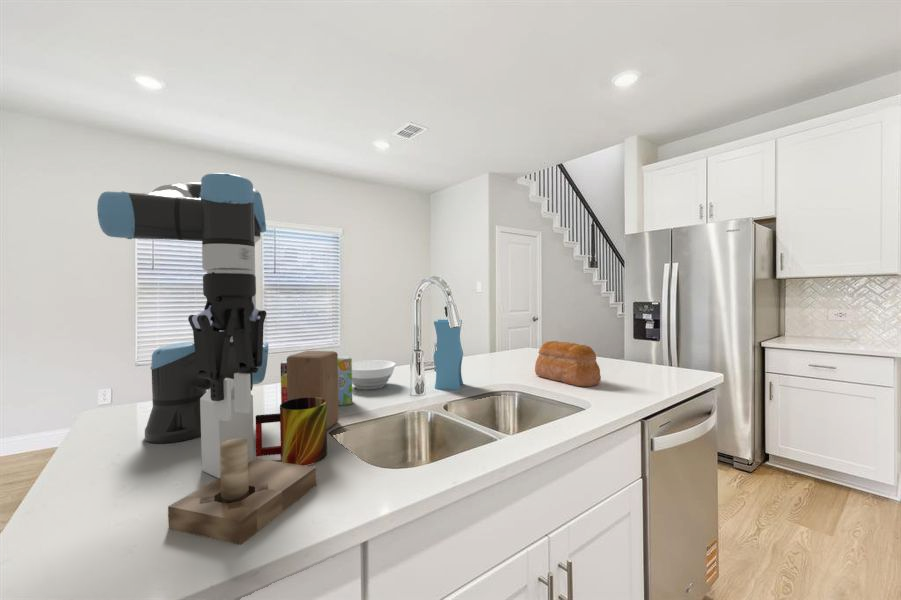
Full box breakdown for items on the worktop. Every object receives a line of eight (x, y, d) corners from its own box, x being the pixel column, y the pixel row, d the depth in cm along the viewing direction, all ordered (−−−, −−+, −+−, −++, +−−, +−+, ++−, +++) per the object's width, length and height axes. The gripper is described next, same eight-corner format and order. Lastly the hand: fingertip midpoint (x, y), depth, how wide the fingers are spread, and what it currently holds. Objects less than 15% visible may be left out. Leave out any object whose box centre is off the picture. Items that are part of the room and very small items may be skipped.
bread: (583, 389, 145) (583, 348, 144) (531, 376, 166) (531, 340, 166) (605, 384, 152) (605, 344, 152) (552, 372, 174) (552, 337, 174)
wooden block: (321, 435, 101) (320, 357, 100) (286, 432, 103) (284, 355, 102) (340, 422, 111) (339, 350, 110) (307, 419, 113) (306, 349, 112)
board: (168, 528, 62) (168, 506, 62) (256, 475, 79) (255, 458, 79) (240, 544, 58) (240, 521, 58) (316, 485, 75) (316, 467, 75)
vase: (438, 382, 156) (437, 319, 155) (463, 383, 154) (462, 319, 153) (433, 389, 146) (433, 321, 145) (460, 389, 144) (460, 321, 144)
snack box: (351, 400, 132) (350, 355, 132) (352, 405, 127) (351, 358, 126) (282, 406, 125) (281, 359, 125) (280, 412, 120) (279, 362, 120)
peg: (215, 519, 64) (213, 446, 64) (235, 506, 68) (234, 437, 68) (235, 523, 63) (233, 449, 63) (254, 509, 67) (253, 439, 67)
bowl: (391, 393, 141) (391, 369, 141) (336, 393, 141) (336, 370, 141) (399, 380, 160) (398, 359, 160) (351, 380, 161) (351, 360, 160)
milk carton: (220, 480, 77) (217, 383, 77) (201, 471, 81) (199, 379, 81) (254, 466, 83) (252, 376, 83) (235, 458, 87) (233, 372, 87)
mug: (255, 460, 86) (253, 406, 86) (317, 444, 95) (317, 394, 94) (266, 477, 79) (265, 417, 78) (333, 458, 87) (333, 404, 87)
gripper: (202, 270, 55) (207, 436, 56) (284, 273, 71) (286, 403, 72) (162, 271, 58) (167, 430, 58) (250, 274, 73) (253, 400, 74)
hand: (233, 415), depth 65 cm, fingers open, 3 cm apart
